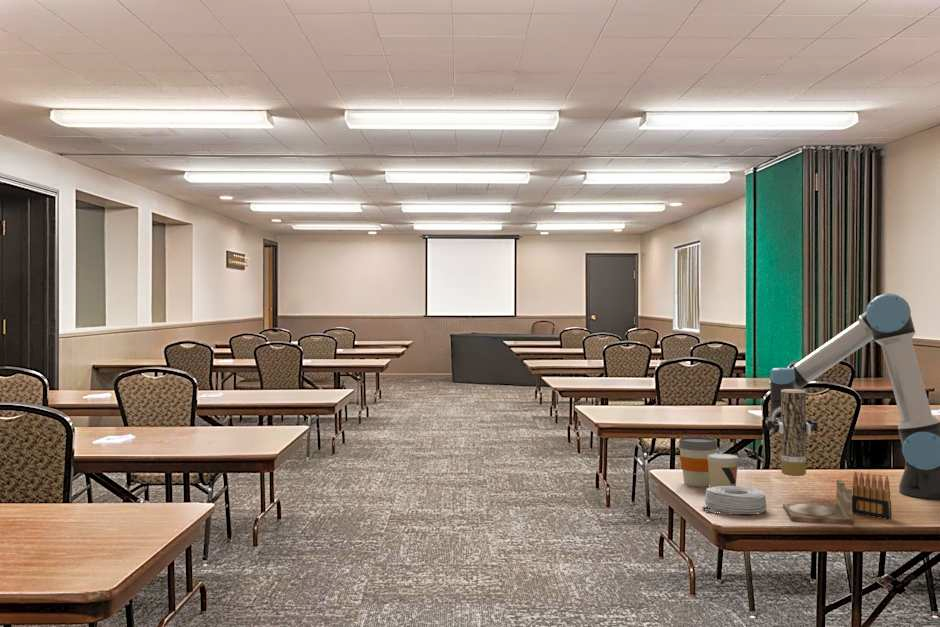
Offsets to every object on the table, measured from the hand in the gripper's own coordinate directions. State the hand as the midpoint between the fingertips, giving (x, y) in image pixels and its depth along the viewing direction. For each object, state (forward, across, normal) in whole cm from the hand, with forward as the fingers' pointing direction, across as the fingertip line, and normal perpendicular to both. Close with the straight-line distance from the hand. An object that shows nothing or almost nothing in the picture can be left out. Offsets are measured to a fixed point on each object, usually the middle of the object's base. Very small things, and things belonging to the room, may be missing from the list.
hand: (795, 429), depth 240 cm
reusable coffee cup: (-33, +27, -24) cm, 49 cm away
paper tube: (-5, 0, -14) cm, 15 cm away
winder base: (+4, -5, -24) cm, 25 cm away
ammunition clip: (0, -20, -24) cm, 31 cm away
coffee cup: (-20, +20, -24) cm, 37 cm away
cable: (+1, +17, -24) cm, 30 cm away
